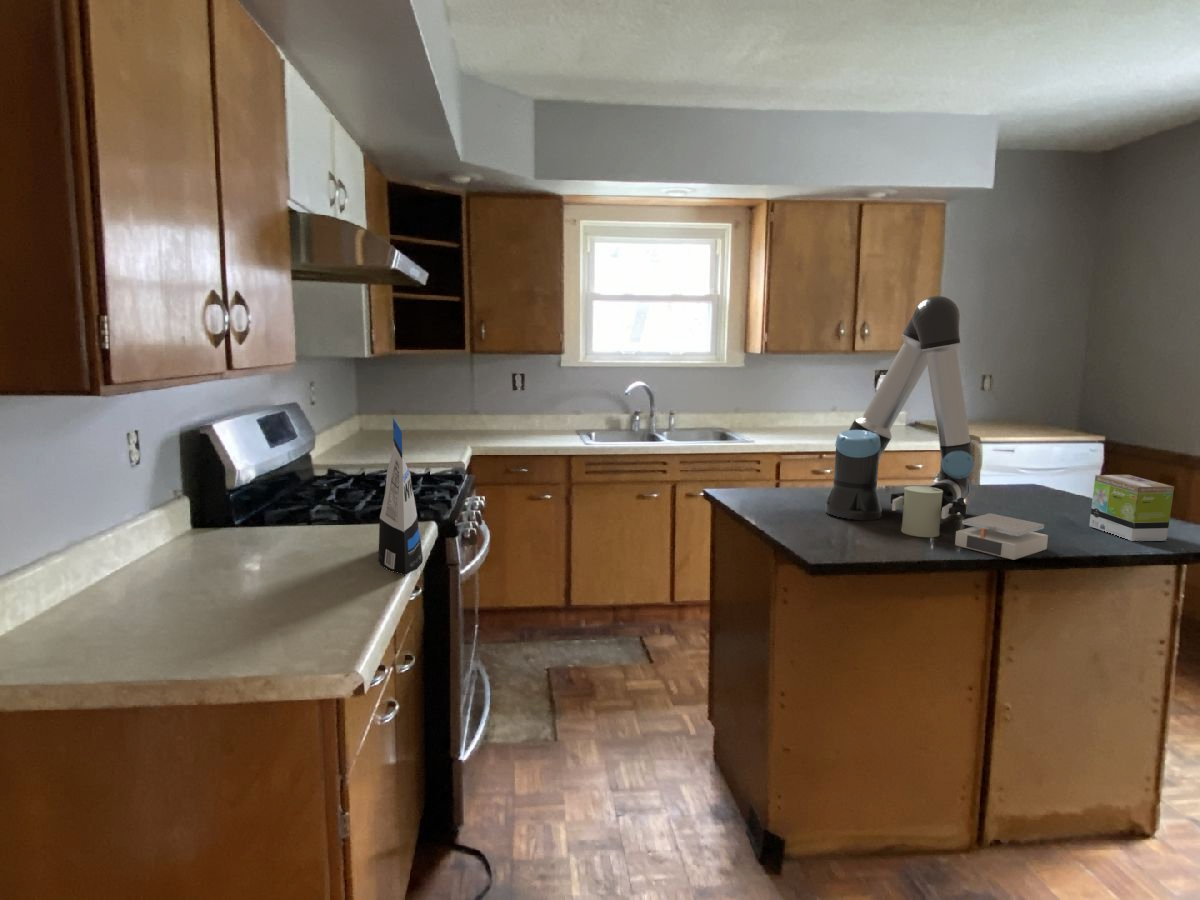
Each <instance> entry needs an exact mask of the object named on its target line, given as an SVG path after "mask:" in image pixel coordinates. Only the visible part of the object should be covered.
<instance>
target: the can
mask: <svg viewBox="0 0 1200 900" xmlns="http://www.w3.org/2000/svg"><path fill="white" fill-rule="evenodd" d="M903 489H904V492H905V493H904V505H903V507H902V508H903V510H902V522H901V529H900V532H902V533H903V534H904V535H907V536H910V537H911V536H912V537H916V538H917V537H918V538H936V537H940V534H941V533H940V527H941V526H940V525H941V515H942V511H941V504H942V494H943V491H942V490H941V489H938V488H933V487H930V486H926V485H925V486H923V485H922V486H921V485H908V486H904V488H903Z"/></svg>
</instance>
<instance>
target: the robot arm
mask: <svg viewBox="0 0 1200 900" xmlns="http://www.w3.org/2000/svg"><path fill="white" fill-rule="evenodd" d="M960 320H961V313H960V310H959V307H958V305H957V304H956V303H955V302H954V301H953V300H952V299H950V298H948V297H946V296H942V295H933V296H929V297H926V298H925V299H923V300H922V301H921V302H920V303H918V304H917V306H916V307H915V309H914V312H913V313H912V316H911V318H910V320H909V321H908V323H907V325H906V327H905V328H904V331H903V332H902V333H901V337H902V341H903V344H902V345H901V347H900V349H899V351H898V352H897V353H896V356H895V358H894V360H893V362H892V363H891V364H890V367H889V368H888V370H887V372H886V374H885V376H884V377H883V379H882V381H881V382H880V385H879V386H878V388H877V390H876V391H875V393H874V396H873V397H872V399H871V400H870V402H869V404H868V406H867V407H866V409H865V411H864V413H863V415H862V416H860V417H857V418H854V420H853V422H852V423H851V425H850V428H849V429H848V430H843V431H841V432H839V433H838V434H837V437H836V440H835V443H834V445H835V457H834V458H835V459H834V469H833V472H834V473H833V484H832V488H831V491H830V492H829V496H828V498H827V501H826V503H825V507H824V508H825V510H824V511H826V512H827V513H829V514H831V515H834V516H838V517H842V518H841V519H843V518H848V519H847V520H850V519H858V520H857V521H873V520H874V519H875V520H878V518H879V519H880V517H881V518H882V511H883V510H882V509H883V508H882V506H881V502H880V498H879V495H878V494H879V493H878V490H877V489H878V487H877V486H878V474H879V462H880V460H881V457H882V455H883V453H884V451H886V449H887V448H888V447H887V446H888V445H889V443H890V442H891V440H892V438H893V436H892V434H891V429H892V427H893V425H894V424H895V422H896V420H897V419H898V417H899V415H900V413H901V412H902V409H903V408H904V407H905V405H906V402H907V401H908V399H909V397H910V396H911V394H912V393H913V392H914V391H913V390H914V389H915V387H916V385H917V384H918V382H919V381H920V378H921V377H922V374H924V371H925V370H926V368H927V371H928V377H929V385H930V391H931V397H932V398H931V399H932V404H933V410H934V417H935V424H936V429H937V430H936V431H937V437H938V443H939V451H940V464H939V465H940V466H939V475H938V476H939V477H938V482H935V483H934V484H931V485H930V486H929V487H933V488H938V489H941V490H942V491H943V494H942V504H941V515H940V519H943V520H945V519H946V518H948V517H950V516H952V515H957V514H958V513H959V514H960V515H962V516H965V515H966V513H967V504H966V503H965V499H966V498H967V497H968V496H969V494H970V493H971V484H970V481H969V475H970V474H972V472H973V470H974V467H975V461H974V460H975V459H974V457H973V451H972V438H971V437H970V429H969V424H968V417H967V409H966V402H965V396H964V389H963V382H962V375H961V369H960V362H959V354H958V348H959V346H960V345H961V339H960V338H961V336H960ZM904 493H905V491H904V492H903V491H902V492H897V493H891V494H890V504H891V511H893V512H894V511H897V510H899V509H900V508H904ZM826 512H825V513H826ZM827 513H826V514H827ZM829 514H828V515H829ZM831 515H830V516H831ZM834 516H833V517H834ZM838 517H837V518H838ZM875 520H874V521H875Z"/></svg>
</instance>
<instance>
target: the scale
mask: <svg viewBox="0 0 1200 900" xmlns="http://www.w3.org/2000/svg"><path fill="white" fill-rule="evenodd" d="M980 534H981V528H978V527H973V526H970V527H968V528H964V529H959V530H956V531H955V541H954V546H957V547H961V548H965V549H969V550H974V551H977V552H981V553H985V554H989V555H992V556H997V557H1002V558H1004V559H1009V560H1013V561H1014V560H1019V559H1021V558H1024V557H1027V556H1031V555H1034V554H1036V553H1039V552H1042V551H1045V550H1047V548H1048V539H1049V535H1048V534H1045V533H1039V532H1037V531H1034V532H1030V533H1027V534H1024V535H1020V536H1013V535H1009V534H1004V533H1000V532H995V531H991V530H990V531H986V535H985V538H980Z"/></svg>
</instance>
